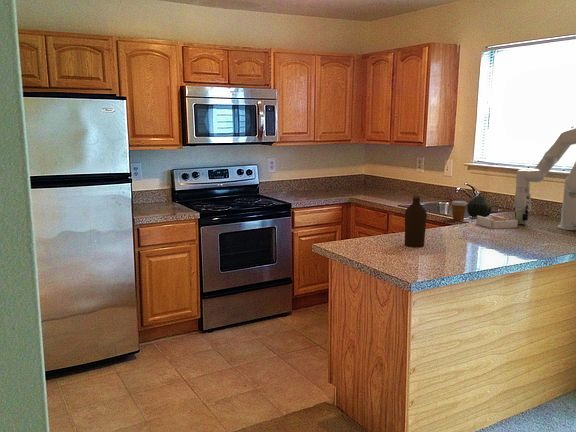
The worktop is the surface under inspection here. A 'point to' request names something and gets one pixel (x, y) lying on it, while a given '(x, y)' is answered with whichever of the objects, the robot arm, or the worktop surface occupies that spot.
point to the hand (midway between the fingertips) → (521, 219)
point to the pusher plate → (498, 218)
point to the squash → (479, 207)
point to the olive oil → (415, 223)
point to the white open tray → (495, 222)
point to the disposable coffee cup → (458, 210)
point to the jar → (520, 216)
